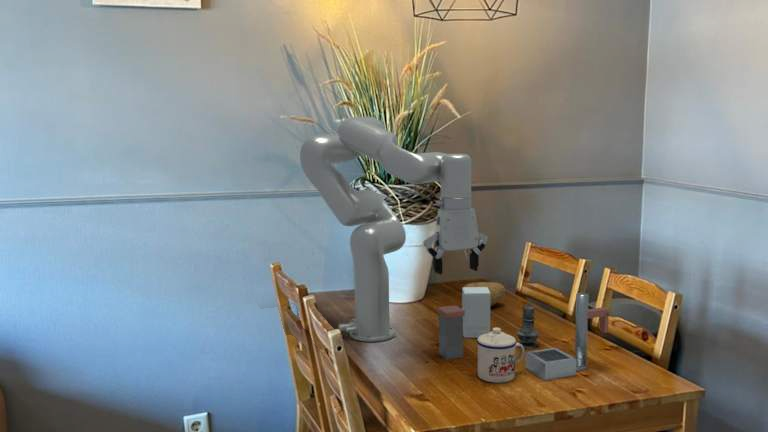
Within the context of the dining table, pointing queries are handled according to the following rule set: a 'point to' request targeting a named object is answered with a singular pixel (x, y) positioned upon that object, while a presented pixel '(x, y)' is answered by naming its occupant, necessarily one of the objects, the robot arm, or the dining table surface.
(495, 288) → the potato
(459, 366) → the dining table surface
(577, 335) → the water pump with trough
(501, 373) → the teacup with lid
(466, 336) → the supplement box
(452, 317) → the grey tall block
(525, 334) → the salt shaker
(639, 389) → the dining table surface
